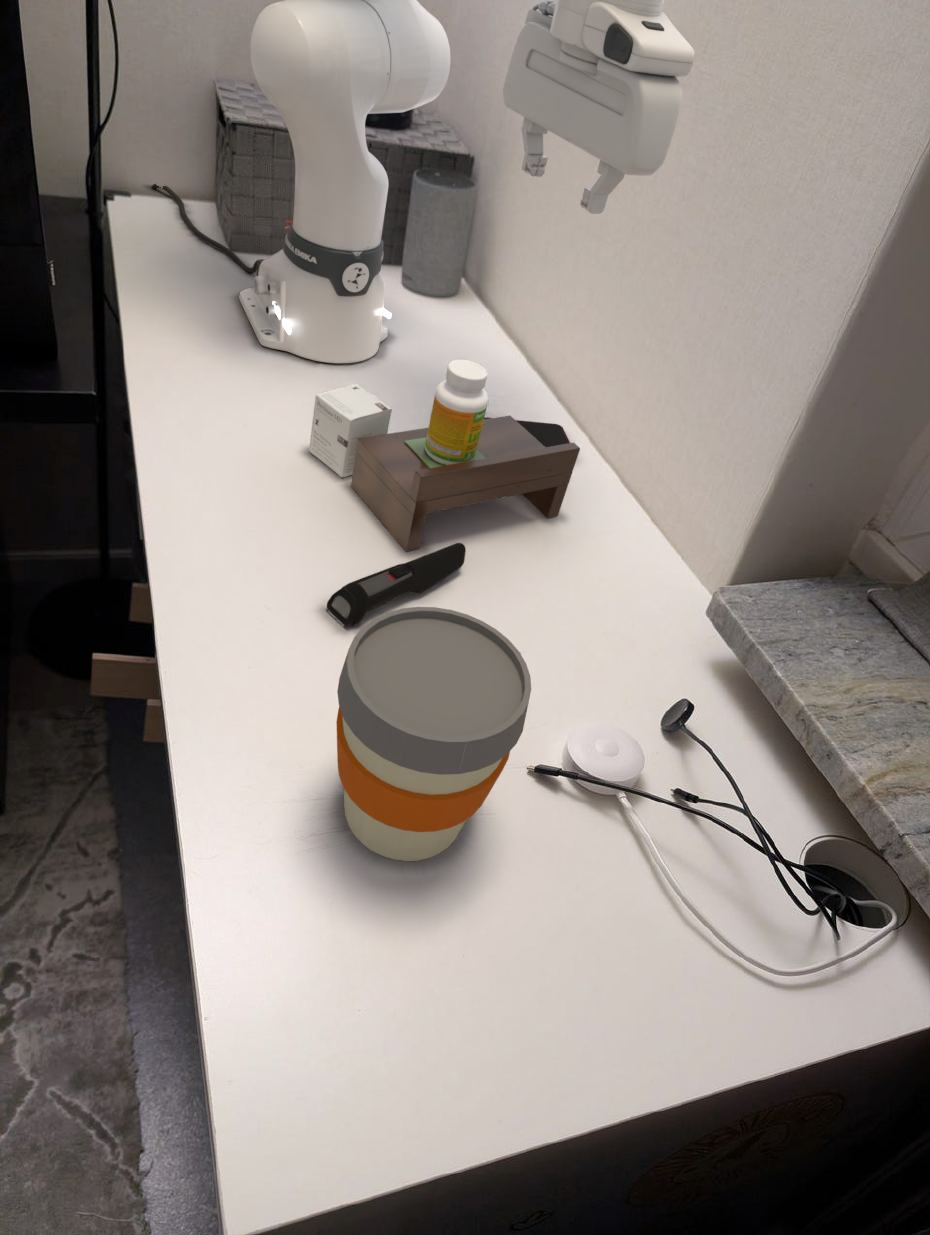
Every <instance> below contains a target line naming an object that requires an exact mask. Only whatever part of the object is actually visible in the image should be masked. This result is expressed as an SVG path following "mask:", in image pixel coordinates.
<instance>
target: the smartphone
mask: <svg viewBox="0 0 930 1235" xmlns="http://www.w3.org/2000/svg"><path fill="white" fill-rule="evenodd" d="M490 418H491V417H488V416H487V417H486V416H485V418H484V419H490ZM515 420H516V421H517V422H518V423H519V424H520V425H521V426H522V427H524V428H525V429H526V430H527V431H528V432H529V433H530V434H531V435H532V436H533V437H535V438H536V439H537V440H538V441H539V442H540V443H541V444H542V445H543V446H545V447H551V446H557V445H563V444H568V443H571V440H570V439H569V437H568V435H567V433H566V431H565V429H564V427H563V426H562V425H561V424H558V423H551V422H542V421H541V422H540V421H532V420H531V421H530V420H519V419H518V420H517V419H515Z"/></svg>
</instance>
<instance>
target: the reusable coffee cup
mask: <svg viewBox="0 0 930 1235" xmlns="http://www.w3.org/2000/svg"><path fill="white" fill-rule="evenodd" d="M531 692H532V680H531V673H530V671H529V667H528V665H527V662H526V660H525V659H524V658H523V656H522V654H521V652H520V651H519V649H518V648H517V647H516V646H515V645H514V644H513V643H512V641H511V640H510V639H509V638H507V636H505V635H504V634H503V633H502V632H500V631H499V630H498V629H496V628H495V627H493V626H491V625H490V624H488V623H486V622H485V621H483V620H481V619H479V618H476V617H474V616H472V615H469V614H466V613H463V612H461V611H456V610H454V609H449V608H442V607H436V606H414V607H403V608H399V609H395V610H391V611H387V612H385V613H383V614H381V615H379V616H377V617H374V618H372V620H370V621H369V622H368V623H366V624H365V625H364V626H362V627H361V628H360V630H359V631H357V633H356V634H355V635H354V637H353V639H352V641H351V643H350V645H349V647H348V650H347V653H346V656H345V660H344V662H343V665H342V669H341V672H340V675H339V678H338V684H337V700H338V706H339V707H338V708H337V714H336V755H337V756H336V758H337V762H336V763H337V771H338V777H339V779H340V782H341V785H342V788H343V807H344V809H343V810H344V816H345V820H346V823H347V825H348V827H349V829H350V831H351V833H352V834H353V836H354V837H355V838H356V839H357V840H358V841H359V842H360V843H361V844H362V845H363V846H365V847H366V848H367V849H368V850H370V851H371V852H373V853H375V854H377V855H380V856H382V857H384V858H387V859H391V860H395V861H403V862H413V861H416V862H417V861H421V860H426V859H427V860H428V859H430V858H432V857H435V856H437V855H439V854H441V853H443V851H445V850H446V849H448V848H449V847H450V846H451V845H452V844H453V843H454V841H455V840H456V839H457V837H458V835H459V833H460V832H461V830H462V828H463V827H464V825H465V823H466V821H467V820H468V819H470V818H471V817H472V816H474V815H475V814H476V813H477V812H478V810H479V809H480V808H481V807H482V806H483V804H484V802H486V799H487V798H488V796H489V794H490V792H492V789H493V788H494V786H495V784H496V783H497V781H498V779H499V777H500V776H501V773H502V772H503V771H504V768H505V766H506V765H507V763H508V761H509V758H510V754H511V751H512V750H513V749H514V747H515V746H516V745H517V743H518V742H519V740H520V737H521V736H522V733H523V732H524V726H525V722H526V718H527V713H528V708H529V702H530V699H531Z"/></svg>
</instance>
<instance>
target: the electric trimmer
mask: <svg viewBox="0 0 930 1235" xmlns="http://www.w3.org/2000/svg"><path fill="white" fill-rule="evenodd" d="M466 553H467V550H466V546H465V544H464V543H461V542H456V543H454V544H451V545H448V546H446V547H443V548H441V549H438V550H435V551H433V552H430V553H428V554H425V555H422V556H420V557H417V558H415V559H412V560H409V561H407V562H403V563H399V564H396V565H394V566H390V567H389V568H385V569H383V570H379V571H378V572H375V573H372V574H369V575H366V576H364V577H361V578H358V579H356V580H353V581H351V582H348V583H347V584H345V585H343V586H342V587H341V588H340V589H338V590H337V591H335V592H334V593H333V594H332V595H331V596H330V598H329V599H328V601H327V602H326V609H327V612H328V614H330V616H332V617H333V618H334V619H336V621H337V622H338V623H339V624H340V625H341V626H342V627H345V626H346V627H347V626H349V625H350V626H351V627H355V626H356V625H358V624H359V623H360V622H361V621H362V620H363V618H364V617H365V616H366V614H367V613H368V612H371V611H373V610H375V609H377V608H379V607H381V606H383V605H386V604H387V603H390V602H391V601H394V600H396V599H399V598H400V597H402V596H405V595H407V594H408V593H411V594H418V595H419V594H422V593H424V592H425V591H428V590H429V589H431V588H432V587H434V586H435V585H437V584H438V583H440V582H442V581H443V580H444V579H446V578H447V577H449V576H451V575H453V574H454V573H455V572H457V571H458V570H461V568H462V567H463V566H464V563H465V560H466V559H465V558H466Z"/></svg>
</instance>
